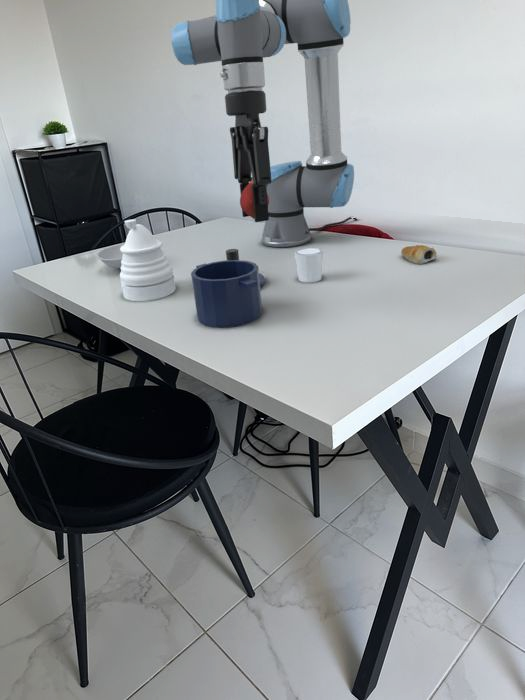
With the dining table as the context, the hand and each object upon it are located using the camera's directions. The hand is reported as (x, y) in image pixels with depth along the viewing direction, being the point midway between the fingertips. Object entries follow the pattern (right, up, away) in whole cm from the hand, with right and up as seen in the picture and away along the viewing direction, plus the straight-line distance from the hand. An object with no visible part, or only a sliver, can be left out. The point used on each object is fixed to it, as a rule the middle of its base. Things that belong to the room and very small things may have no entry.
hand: (255, 218), depth 104 cm
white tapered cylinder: (+13, -9, +22) cm, 28 cm away
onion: (0, 0, 0) cm, 0 cm away
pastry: (+42, -3, +29) cm, 51 cm away
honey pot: (-27, -13, +23) cm, 37 cm away
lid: (-5, -10, +23) cm, 25 cm away
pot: (-6, -19, +5) cm, 21 cm away
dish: (-39, -3, +45) cm, 59 cm away
